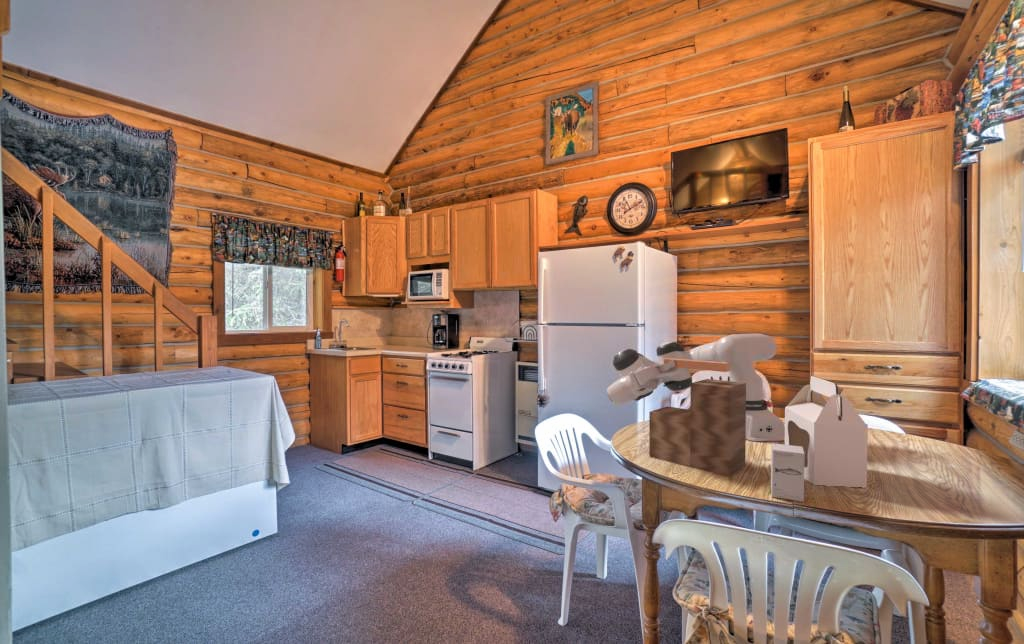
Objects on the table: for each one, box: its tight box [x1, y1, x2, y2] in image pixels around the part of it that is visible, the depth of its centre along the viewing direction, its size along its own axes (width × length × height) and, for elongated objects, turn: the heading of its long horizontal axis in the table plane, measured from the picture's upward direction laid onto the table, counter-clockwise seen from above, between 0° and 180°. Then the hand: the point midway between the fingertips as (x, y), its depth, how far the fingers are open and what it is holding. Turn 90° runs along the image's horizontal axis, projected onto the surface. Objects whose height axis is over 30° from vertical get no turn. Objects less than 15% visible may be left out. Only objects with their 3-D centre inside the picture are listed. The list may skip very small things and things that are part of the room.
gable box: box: [784, 375, 869, 489], centre depth 140 cm, size 22×13×28 cm, turn 169°
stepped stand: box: [648, 378, 747, 477], centre depth 152 cm, size 26×12×26 cm, turn 44°
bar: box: [664, 358, 730, 373], centre depth 151 cm, size 20×4×2 cm, turn 44°
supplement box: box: [770, 442, 805, 503], centre depth 124 cm, size 7×7×13 cm
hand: (678, 361), depth 155 cm, fingers closed on bar, 3 cm apart
